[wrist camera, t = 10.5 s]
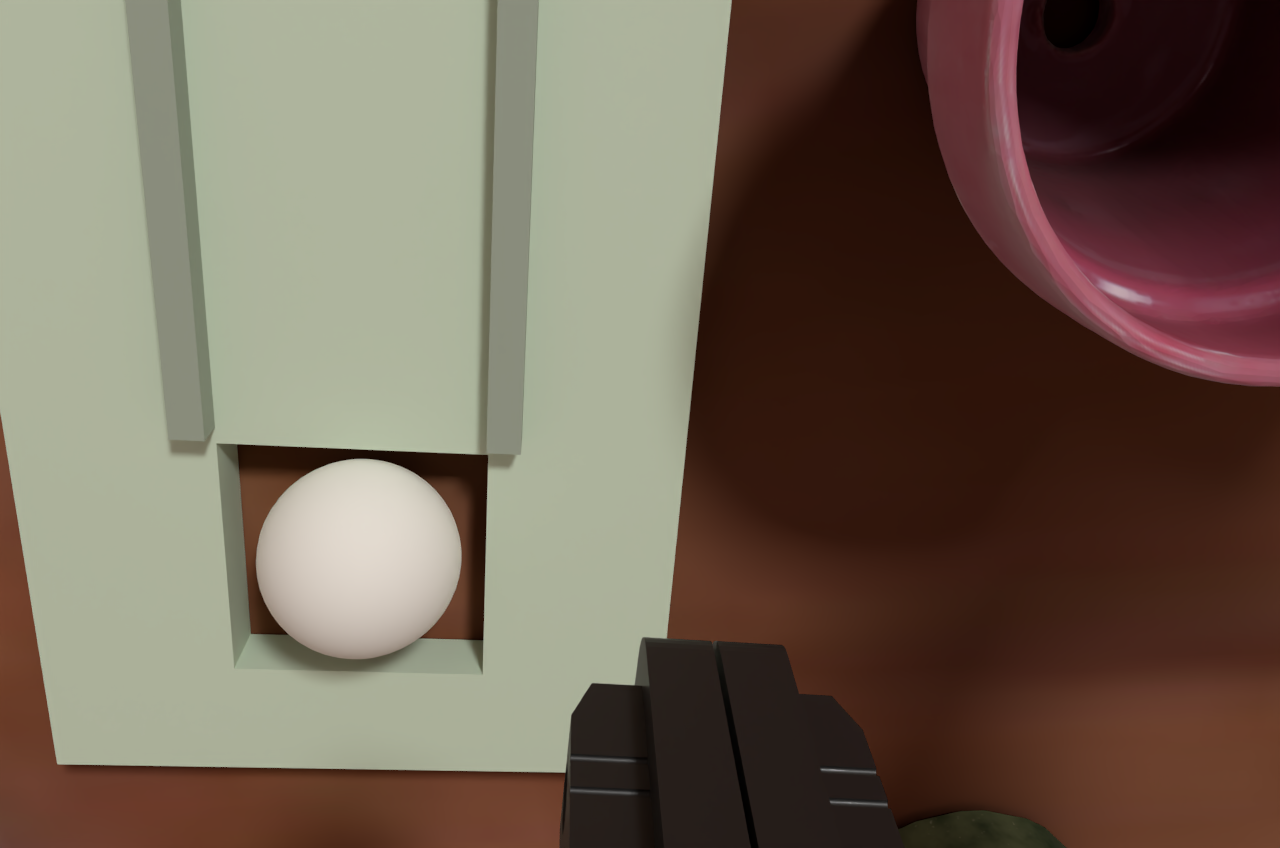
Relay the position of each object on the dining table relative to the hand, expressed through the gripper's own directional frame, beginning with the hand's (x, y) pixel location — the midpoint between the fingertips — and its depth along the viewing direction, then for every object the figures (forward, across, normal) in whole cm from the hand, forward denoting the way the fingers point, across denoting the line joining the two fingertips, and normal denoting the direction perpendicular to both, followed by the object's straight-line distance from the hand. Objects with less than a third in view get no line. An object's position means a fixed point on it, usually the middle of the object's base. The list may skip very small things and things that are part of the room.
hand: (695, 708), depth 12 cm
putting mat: (+22, +8, +3) cm, 24 cm away
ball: (+19, +7, +10) cm, 23 cm away
